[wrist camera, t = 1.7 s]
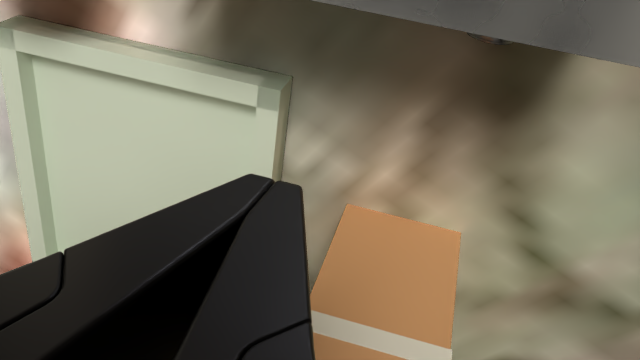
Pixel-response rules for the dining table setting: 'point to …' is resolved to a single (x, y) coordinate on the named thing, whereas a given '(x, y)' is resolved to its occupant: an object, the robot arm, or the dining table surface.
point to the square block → (385, 290)
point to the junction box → (529, 22)
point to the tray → (127, 127)
